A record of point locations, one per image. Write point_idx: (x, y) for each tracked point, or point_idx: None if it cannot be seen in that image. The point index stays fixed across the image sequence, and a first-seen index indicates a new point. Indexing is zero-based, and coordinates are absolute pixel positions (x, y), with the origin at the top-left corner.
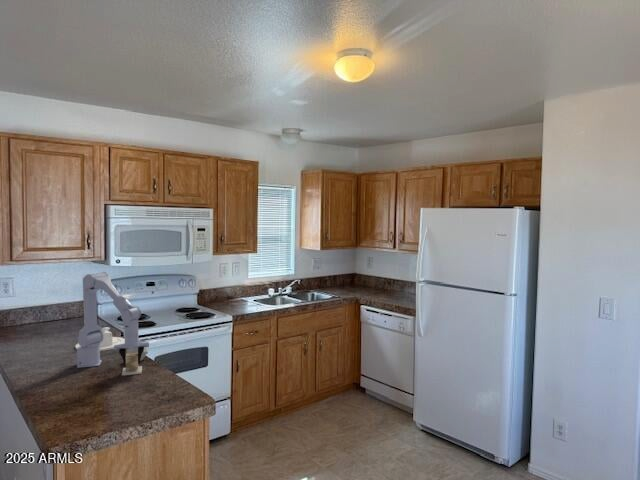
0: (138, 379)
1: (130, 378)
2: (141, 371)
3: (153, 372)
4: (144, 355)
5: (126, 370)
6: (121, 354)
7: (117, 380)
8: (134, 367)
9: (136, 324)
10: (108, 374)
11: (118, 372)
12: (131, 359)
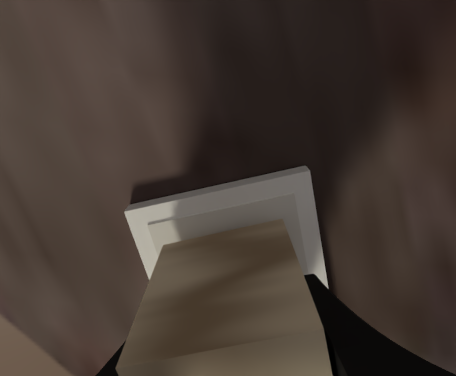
0: (86, 24)
1: (189, 69)
2: (134, 232)
3: (23, 223)
4: None
5: None
6: (429, 374)
7: (314, 15)
8: (193, 247)
9: None
10: (441, 210)
11: (358, 252)
12: (221, 308)
